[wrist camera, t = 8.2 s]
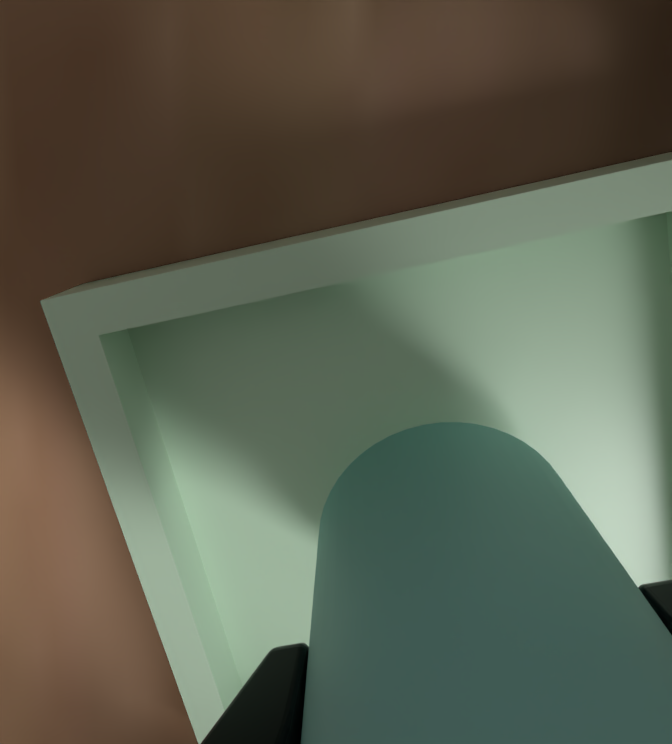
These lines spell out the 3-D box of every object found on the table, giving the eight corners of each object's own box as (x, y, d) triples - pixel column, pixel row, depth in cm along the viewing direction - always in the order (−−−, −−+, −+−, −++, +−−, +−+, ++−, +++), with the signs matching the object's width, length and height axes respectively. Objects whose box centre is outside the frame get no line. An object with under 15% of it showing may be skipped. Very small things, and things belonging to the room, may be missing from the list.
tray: (692, 146, 9) (753, 141, 8) (721, 666, 11) (771, 732, 10) (82, 283, 10) (39, 300, 8) (237, 743, 12) (223, 813, 11)
